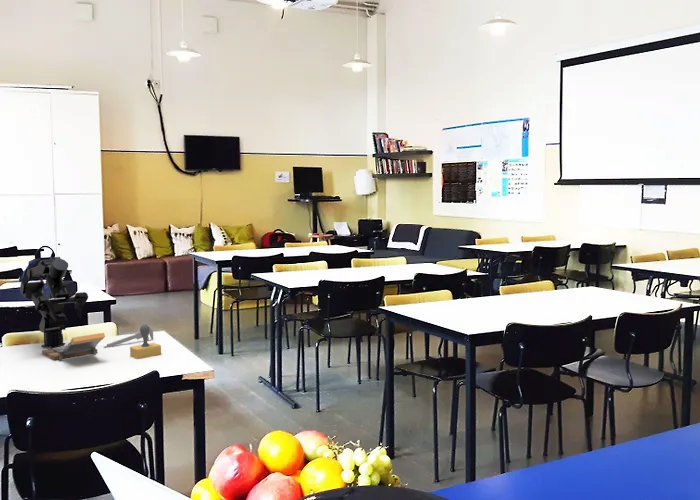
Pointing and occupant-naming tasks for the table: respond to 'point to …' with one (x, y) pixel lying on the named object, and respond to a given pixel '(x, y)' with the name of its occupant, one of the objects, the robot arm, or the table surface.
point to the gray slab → (83, 343)
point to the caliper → (137, 335)
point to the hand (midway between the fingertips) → (68, 318)
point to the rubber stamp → (145, 346)
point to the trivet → (57, 355)
